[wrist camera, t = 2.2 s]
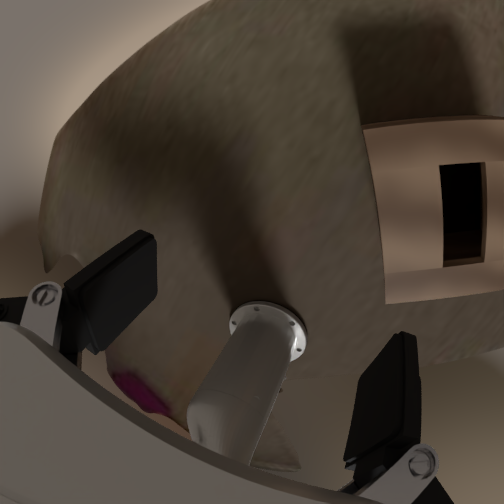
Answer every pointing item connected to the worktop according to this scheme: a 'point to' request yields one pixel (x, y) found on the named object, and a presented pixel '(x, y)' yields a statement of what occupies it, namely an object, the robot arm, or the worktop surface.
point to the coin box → (436, 205)
